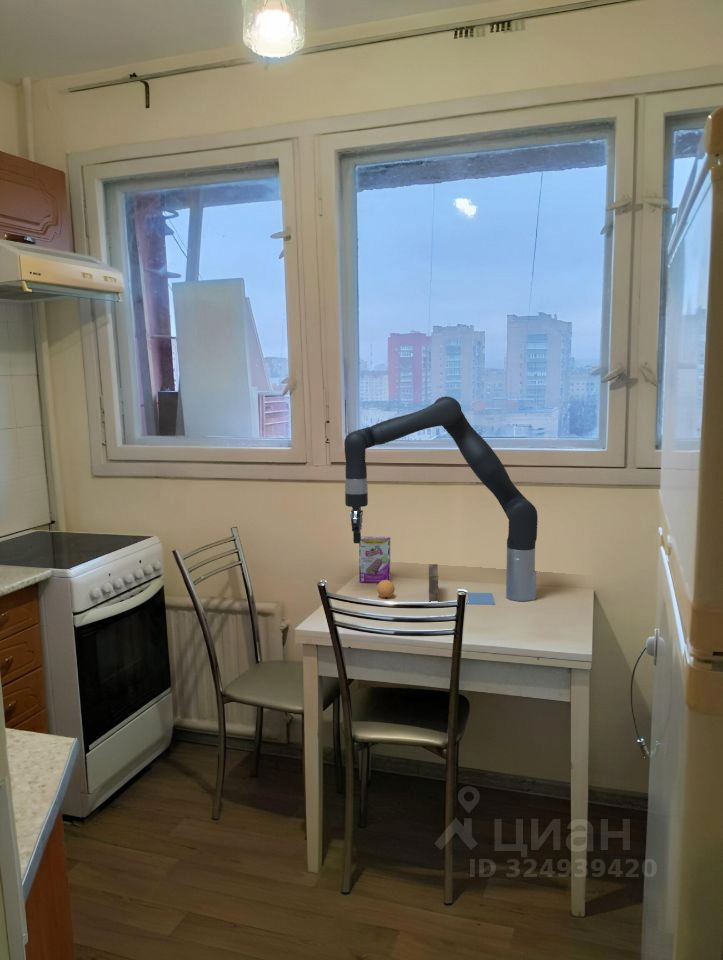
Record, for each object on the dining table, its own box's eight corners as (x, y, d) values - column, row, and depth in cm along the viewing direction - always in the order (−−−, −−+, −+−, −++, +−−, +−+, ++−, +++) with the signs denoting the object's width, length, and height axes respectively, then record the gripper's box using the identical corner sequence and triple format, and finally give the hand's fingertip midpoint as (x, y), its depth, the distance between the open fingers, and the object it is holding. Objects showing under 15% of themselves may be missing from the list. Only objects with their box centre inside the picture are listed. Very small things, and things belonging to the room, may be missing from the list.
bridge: (437, 591, 245) (437, 564, 243) (438, 605, 230) (438, 576, 229) (428, 591, 245) (428, 564, 244) (429, 604, 230) (429, 576, 229)
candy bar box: (359, 583, 256) (358, 539, 254) (360, 579, 261) (360, 536, 259) (390, 583, 255) (389, 539, 253) (390, 579, 260) (390, 536, 258)
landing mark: (491, 593, 242) (491, 592, 242) (495, 604, 230) (495, 603, 230) (456, 593, 243) (456, 592, 243) (458, 603, 231) (458, 603, 231)
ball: (395, 594, 242) (395, 577, 241) (394, 600, 236) (394, 582, 235) (377, 594, 242) (377, 577, 241) (376, 600, 236) (376, 582, 235)
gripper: (365, 494, 228) (366, 547, 230) (369, 488, 241) (369, 538, 244) (342, 494, 228) (343, 547, 231) (347, 488, 242) (348, 537, 244)
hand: (357, 542), depth 237 cm, fingers closed
